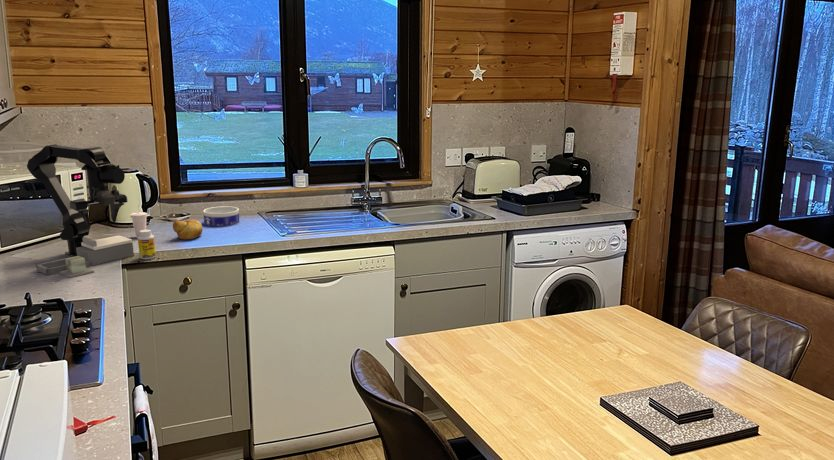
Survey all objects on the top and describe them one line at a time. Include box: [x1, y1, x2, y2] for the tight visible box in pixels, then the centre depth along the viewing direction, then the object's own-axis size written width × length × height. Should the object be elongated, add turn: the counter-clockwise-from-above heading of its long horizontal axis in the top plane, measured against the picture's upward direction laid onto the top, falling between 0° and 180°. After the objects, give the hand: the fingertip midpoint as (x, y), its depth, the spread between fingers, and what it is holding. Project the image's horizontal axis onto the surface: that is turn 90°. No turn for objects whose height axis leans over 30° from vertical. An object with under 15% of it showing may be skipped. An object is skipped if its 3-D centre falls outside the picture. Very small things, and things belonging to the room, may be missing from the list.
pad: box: [59, 267, 95, 279], centre depth 232 cm, size 8×8×1 cm
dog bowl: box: [202, 205, 240, 227], centre depth 303 cm, size 15×15×6 cm
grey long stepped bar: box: [35, 241, 135, 276], centre depth 243 cm, size 9×30×5 cm, turn 140°
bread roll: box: [172, 219, 204, 240], centre depth 278 cm, size 13×10×8 cm
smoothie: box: [130, 202, 148, 239], centre depth 278 cm, size 6×6×14 cm
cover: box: [81, 235, 133, 250], centre depth 248 cm, size 10×14×3 cm
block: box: [64, 256, 87, 274], centre depth 232 cm, size 4×4×4 cm
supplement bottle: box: [137, 229, 157, 260], centre depth 249 cm, size 6×6×10 cm
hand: (101, 224), depth 249 cm, fingers open, 9 cm apart
